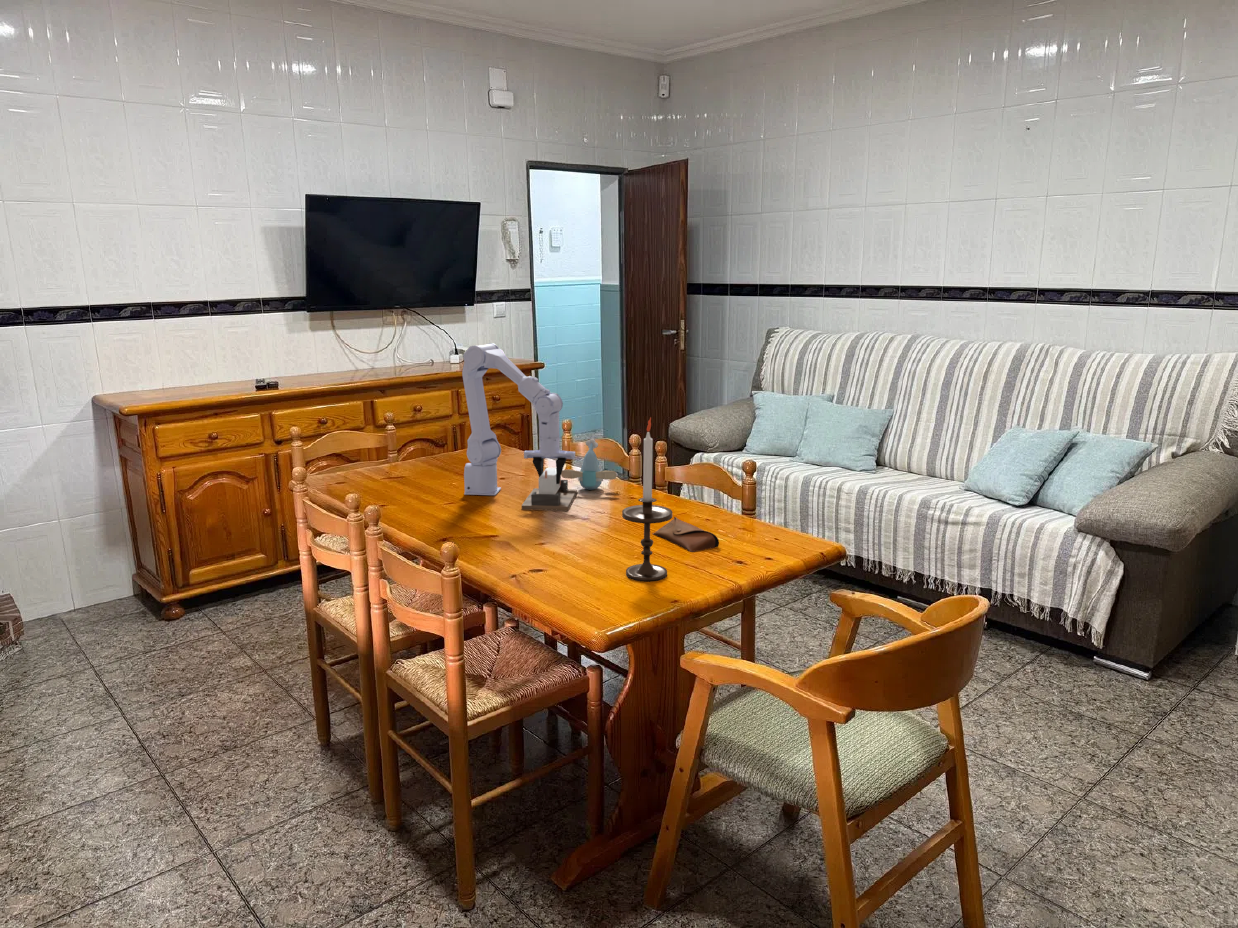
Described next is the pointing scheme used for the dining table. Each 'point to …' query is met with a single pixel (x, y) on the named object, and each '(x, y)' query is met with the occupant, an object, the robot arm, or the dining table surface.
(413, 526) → the dining table surface
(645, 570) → the candlestick
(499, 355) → the robot arm
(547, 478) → the white rectangular block
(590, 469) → the toy figure
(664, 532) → the sunglasses case
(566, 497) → the cradle jig
